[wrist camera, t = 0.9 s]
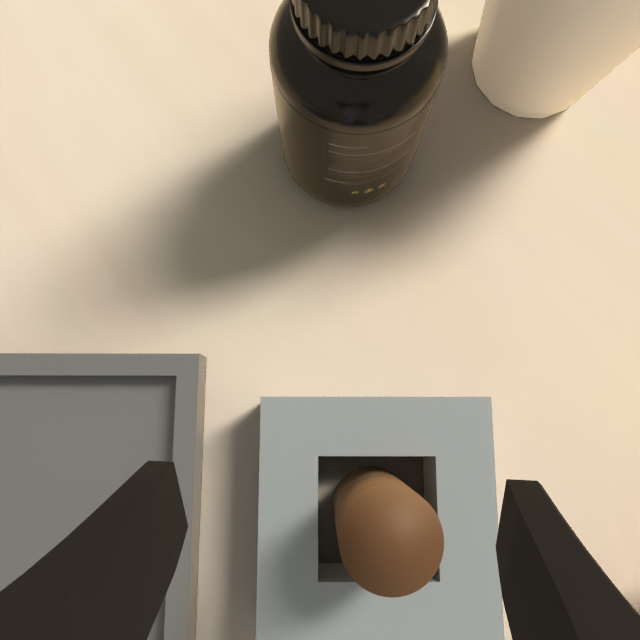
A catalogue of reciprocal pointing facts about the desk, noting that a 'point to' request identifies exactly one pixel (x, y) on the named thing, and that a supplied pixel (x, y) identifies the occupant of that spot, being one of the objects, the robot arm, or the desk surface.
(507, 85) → the foam cup
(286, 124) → the supplement bottle
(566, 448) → the desk surface
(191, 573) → the tray
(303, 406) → the square hole block
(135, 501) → the robot arm
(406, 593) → the dowel
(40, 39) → the desk surface
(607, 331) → the desk surface
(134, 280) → the desk surface
